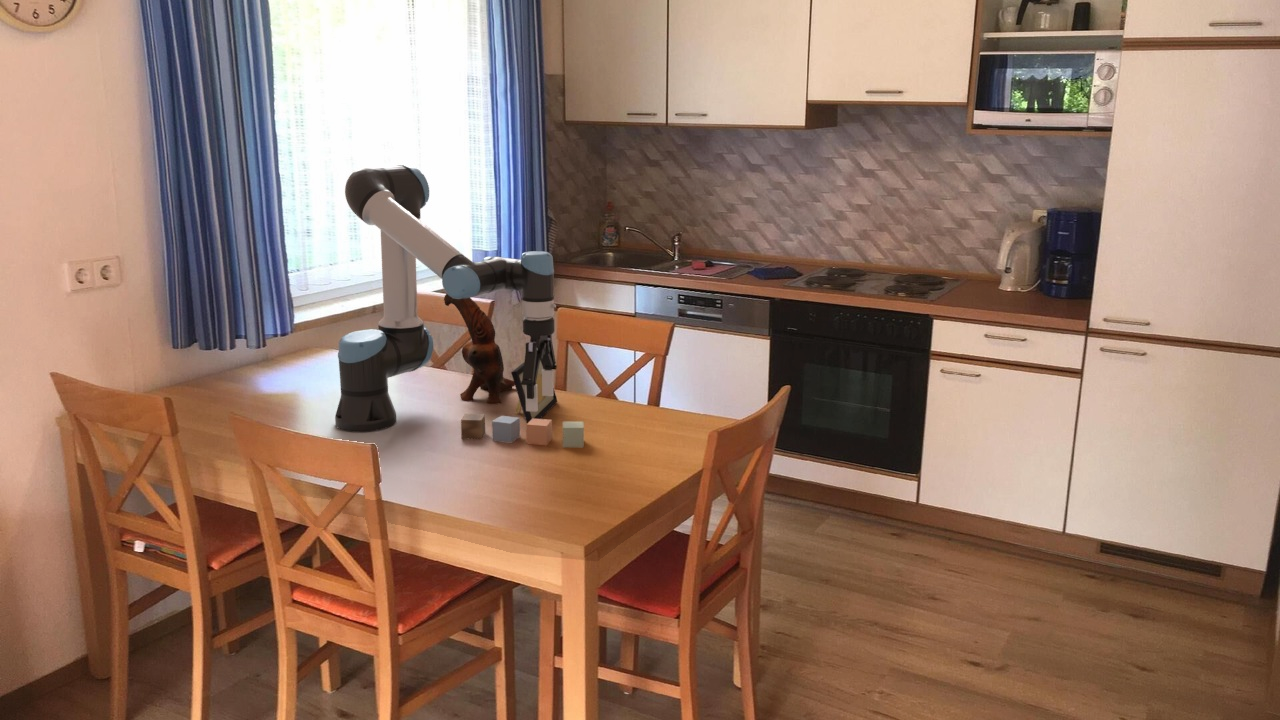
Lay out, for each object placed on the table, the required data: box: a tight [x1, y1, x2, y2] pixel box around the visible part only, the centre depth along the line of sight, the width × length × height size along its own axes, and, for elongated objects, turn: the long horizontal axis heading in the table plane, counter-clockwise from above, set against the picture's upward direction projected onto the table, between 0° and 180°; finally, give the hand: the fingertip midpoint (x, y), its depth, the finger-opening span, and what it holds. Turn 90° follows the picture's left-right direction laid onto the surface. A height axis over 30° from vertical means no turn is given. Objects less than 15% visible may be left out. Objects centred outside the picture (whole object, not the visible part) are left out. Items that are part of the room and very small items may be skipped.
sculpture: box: [443, 292, 515, 405], centre depth 280 cm, size 19×18×30 cm
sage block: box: [562, 421, 585, 448], centre depth 242 cm, size 5×5×5 cm
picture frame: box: [510, 360, 558, 424], centre depth 265 cm, size 23×9×15 cm, turn 168°
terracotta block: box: [525, 418, 553, 446], centre depth 244 cm, size 5×5×5 cm
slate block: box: [491, 415, 521, 444], centre depth 246 cm, size 5×5×5 cm
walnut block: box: [460, 413, 486, 440], centre depth 247 cm, size 5×5×5 cm
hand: (540, 403), depth 242 cm, fingers open, 13 cm apart
